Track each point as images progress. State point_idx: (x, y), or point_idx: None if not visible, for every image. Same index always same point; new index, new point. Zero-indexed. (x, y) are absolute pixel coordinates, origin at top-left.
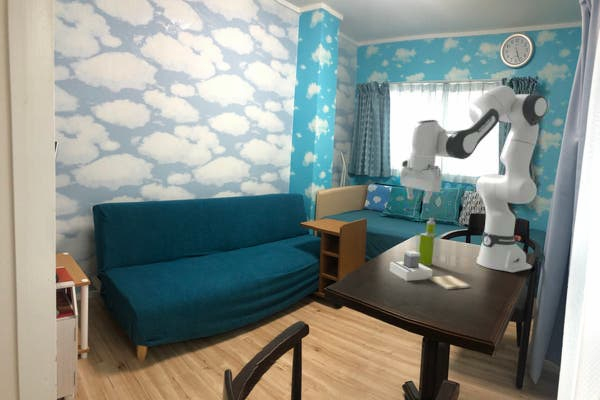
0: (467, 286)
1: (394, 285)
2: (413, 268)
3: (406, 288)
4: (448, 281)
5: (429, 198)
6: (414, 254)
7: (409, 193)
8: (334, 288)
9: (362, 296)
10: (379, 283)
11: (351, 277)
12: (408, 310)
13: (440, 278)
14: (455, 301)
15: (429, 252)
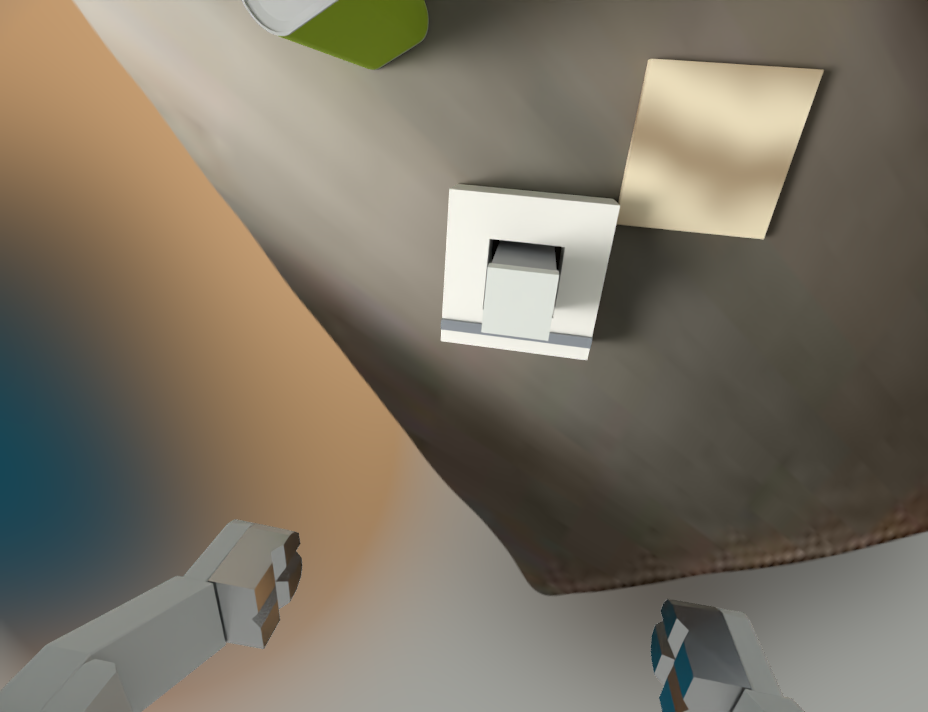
0: (813, 89)
1: (604, 417)
2: (560, 295)
3: (651, 397)
4: (713, 161)
5: (788, 704)
6: (551, 314)
7: (204, 643)
8: (544, 586)
9: (635, 559)
10: (563, 452)
11: (475, 499)
12: (801, 515)
13: (657, 171)
14: (872, 310)
15: (403, 13)
